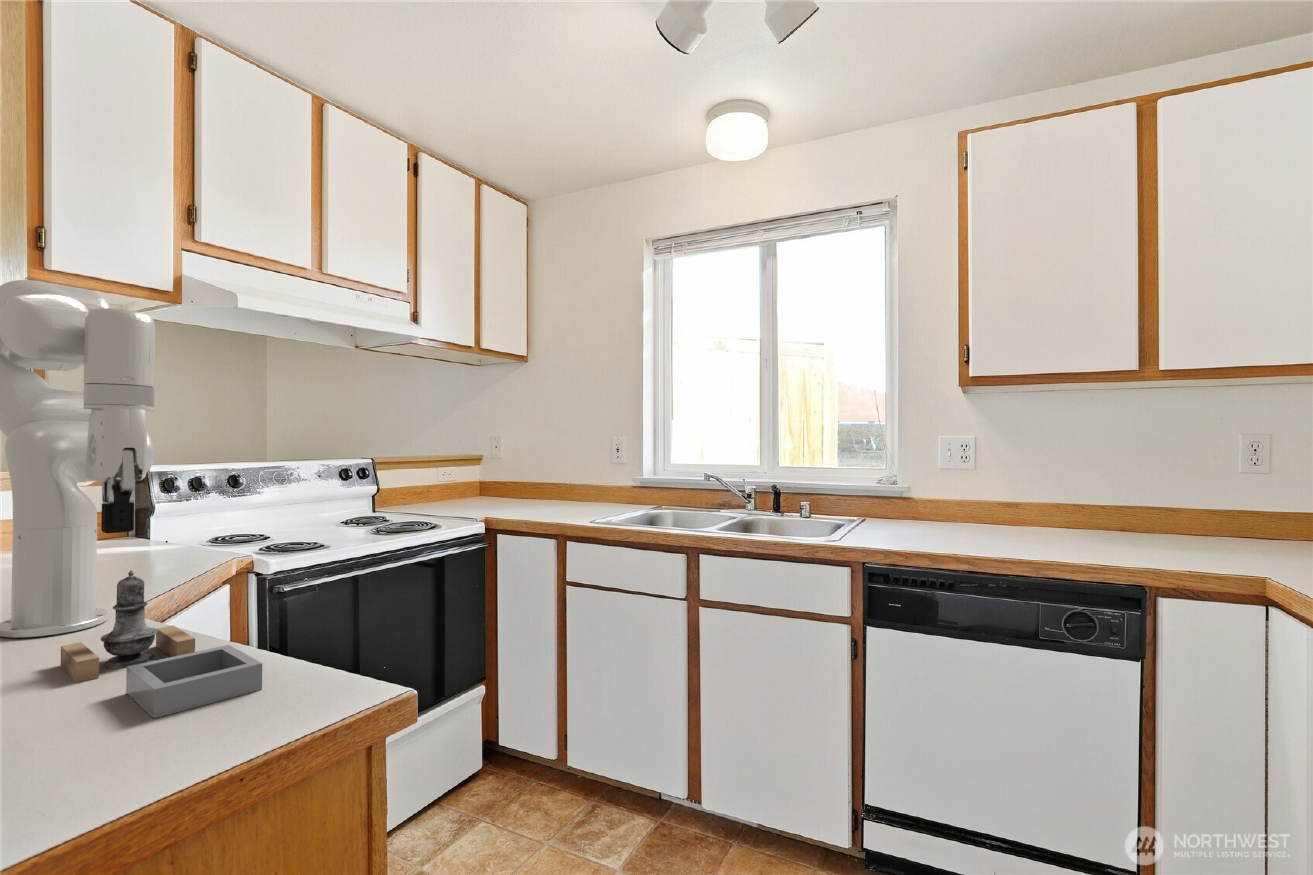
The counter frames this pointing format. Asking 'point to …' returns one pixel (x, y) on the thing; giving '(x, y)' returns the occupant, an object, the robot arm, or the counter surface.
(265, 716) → the counter surface
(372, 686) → the counter surface
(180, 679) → the square tray
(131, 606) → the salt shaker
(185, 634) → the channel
